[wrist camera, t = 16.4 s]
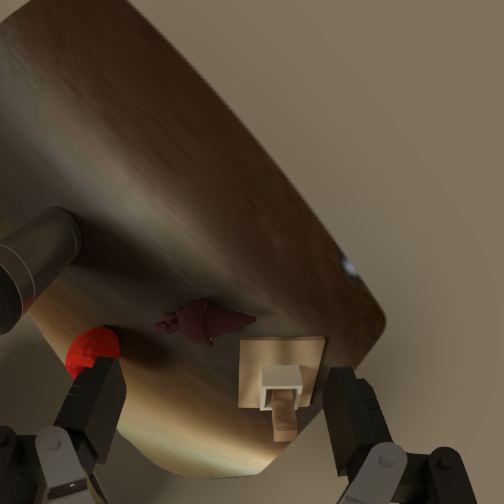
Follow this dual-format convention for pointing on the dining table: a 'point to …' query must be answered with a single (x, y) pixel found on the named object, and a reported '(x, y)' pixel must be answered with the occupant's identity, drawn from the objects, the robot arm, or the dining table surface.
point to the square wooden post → (283, 415)
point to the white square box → (279, 383)
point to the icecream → (202, 321)
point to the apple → (91, 349)
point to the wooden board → (277, 363)
